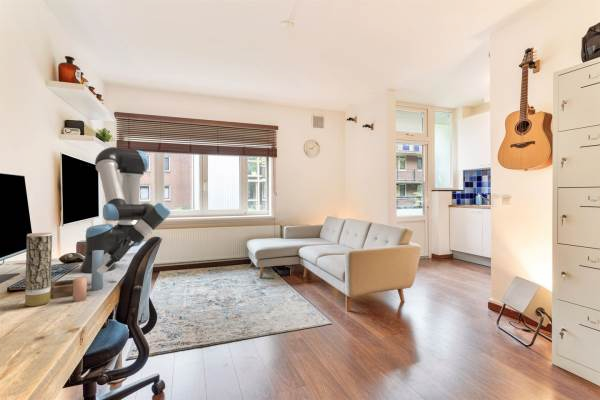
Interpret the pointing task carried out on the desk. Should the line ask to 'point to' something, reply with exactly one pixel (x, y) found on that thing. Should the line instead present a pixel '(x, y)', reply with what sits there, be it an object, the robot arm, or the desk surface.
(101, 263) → the slate-blue pin
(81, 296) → the terracotta pin
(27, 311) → the desk surface
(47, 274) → the bark-patterned canister
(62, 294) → the walnut socket block
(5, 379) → the desk surface
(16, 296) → the desk surface
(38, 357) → the desk surface
